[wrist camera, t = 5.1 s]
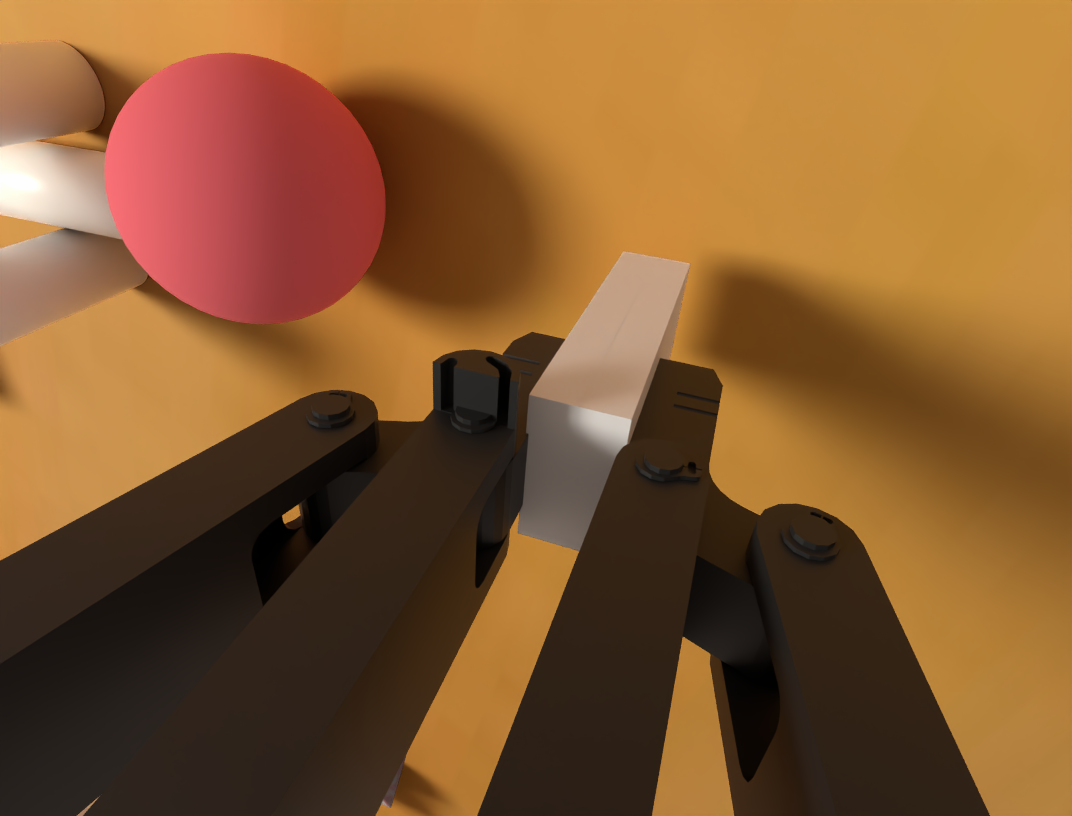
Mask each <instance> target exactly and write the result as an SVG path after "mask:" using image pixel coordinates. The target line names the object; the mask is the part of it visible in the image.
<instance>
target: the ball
mask: <svg viewBox="0 0 1072 816" xmlns="http://www.w3.org/2000/svg"><path fill="white" fill-rule="evenodd" d="M104 172H105V189H106V194H107V199H108V203H109V208H110V211H111V214H112V217H113V219H114V222H115V225H116V228H117V229H118V231H119V233H120V235H121V237H122V239H123V241H124V243H125V245H126V246H127V248H128V249H129V251H130V252H131V254H132V255H133V256H134V258H135V259H136V261H137V262H138V263H139V264H140V265H141V267H142V268H143V269H144V270H145V271H146V272H147V273H148V274H149V276H150V277H152V278H153V279H154V280H155V281H156V282H157V283H158V284H160V285H161V286H162V287H163V288H164V289H165V290H167V291H168V292H170V293H171V294H172V295H174V296H175V297H177V298H178V299H180V300H181V301H183V302H185V303H187V304H189V305H191V306H193V307H194V308H196V309H198V310H201V311H203V312H206V313H208V314H211V315H213V316H216V317H220V318H223V319H227V320H231V321H235V322H243V323H250V324H275V323H284V322H289V321H294V320H298V319H302V318H305V317H307V316H310V315H312V314H315V313H317V312H320V311H322V310H324V309H325V308H327V307H329V306H331V305H333V304H334V303H336V302H337V301H338V300H340V299H341V298H342V297H343V296H345V295H346V294H347V293H348V292H349V291H350V290H351V289H352V288H353V287H354V286H355V285H356V284H357V283H358V282H359V281H360V279H361V278H362V277H363V275H364V274H365V272H366V271H367V270H368V268H369V266H370V265H371V263H372V261H373V259H374V257H375V255H376V252H377V250H378V248H379V245H380V241H381V237H382V233H383V229H384V223H385V213H386V202H385V187H384V182H383V177H382V173H381V169H380V165H379V162H378V160H377V157H376V155H375V152H374V150H373V147H372V145H371V143H370V141H369V139H368V138H367V136H366V134H365V132H364V130H363V129H362V127H361V126H360V124H359V123H358V122H357V120H356V119H355V117H354V116H353V115H352V113H351V112H350V111H349V110H348V109H347V108H346V107H345V106H344V105H343V104H342V102H341V101H340V100H339V99H338V98H336V97H335V96H334V95H333V94H332V93H331V92H329V91H328V90H327V89H326V88H325V87H323V86H322V85H321V84H320V83H318V82H317V81H315V80H313V79H312V78H310V77H309V76H307V75H306V74H304V73H302V72H300V71H298V70H296V69H294V68H292V67H290V66H288V65H286V64H283V63H280V62H277V61H274V60H271V59H268V58H264V57H259V56H254V55H249V54H237V53H219V54H207V55H202V56H197V57H193V58H188V59H186V60H183V61H180V62H178V63H175V64H172V65H170V66H168V67H167V68H165V69H163V70H161V71H160V72H158V73H156V74H154V75H153V76H152V77H151V78H149V79H148V80H147V81H146V82H144V83H143V84H142V85H141V86H140V87H139V88H138V89H137V90H136V91H135V92H134V93H133V94H132V96H131V97H130V98H129V99H128V100H127V102H126V103H125V105H124V106H123V108H122V110H121V111H120V113H119V114H118V116H117V118H116V121H115V123H114V126H113V128H112V130H111V133H110V136H109V140H108V145H107V149H106V154H105V169H104Z"/></svg>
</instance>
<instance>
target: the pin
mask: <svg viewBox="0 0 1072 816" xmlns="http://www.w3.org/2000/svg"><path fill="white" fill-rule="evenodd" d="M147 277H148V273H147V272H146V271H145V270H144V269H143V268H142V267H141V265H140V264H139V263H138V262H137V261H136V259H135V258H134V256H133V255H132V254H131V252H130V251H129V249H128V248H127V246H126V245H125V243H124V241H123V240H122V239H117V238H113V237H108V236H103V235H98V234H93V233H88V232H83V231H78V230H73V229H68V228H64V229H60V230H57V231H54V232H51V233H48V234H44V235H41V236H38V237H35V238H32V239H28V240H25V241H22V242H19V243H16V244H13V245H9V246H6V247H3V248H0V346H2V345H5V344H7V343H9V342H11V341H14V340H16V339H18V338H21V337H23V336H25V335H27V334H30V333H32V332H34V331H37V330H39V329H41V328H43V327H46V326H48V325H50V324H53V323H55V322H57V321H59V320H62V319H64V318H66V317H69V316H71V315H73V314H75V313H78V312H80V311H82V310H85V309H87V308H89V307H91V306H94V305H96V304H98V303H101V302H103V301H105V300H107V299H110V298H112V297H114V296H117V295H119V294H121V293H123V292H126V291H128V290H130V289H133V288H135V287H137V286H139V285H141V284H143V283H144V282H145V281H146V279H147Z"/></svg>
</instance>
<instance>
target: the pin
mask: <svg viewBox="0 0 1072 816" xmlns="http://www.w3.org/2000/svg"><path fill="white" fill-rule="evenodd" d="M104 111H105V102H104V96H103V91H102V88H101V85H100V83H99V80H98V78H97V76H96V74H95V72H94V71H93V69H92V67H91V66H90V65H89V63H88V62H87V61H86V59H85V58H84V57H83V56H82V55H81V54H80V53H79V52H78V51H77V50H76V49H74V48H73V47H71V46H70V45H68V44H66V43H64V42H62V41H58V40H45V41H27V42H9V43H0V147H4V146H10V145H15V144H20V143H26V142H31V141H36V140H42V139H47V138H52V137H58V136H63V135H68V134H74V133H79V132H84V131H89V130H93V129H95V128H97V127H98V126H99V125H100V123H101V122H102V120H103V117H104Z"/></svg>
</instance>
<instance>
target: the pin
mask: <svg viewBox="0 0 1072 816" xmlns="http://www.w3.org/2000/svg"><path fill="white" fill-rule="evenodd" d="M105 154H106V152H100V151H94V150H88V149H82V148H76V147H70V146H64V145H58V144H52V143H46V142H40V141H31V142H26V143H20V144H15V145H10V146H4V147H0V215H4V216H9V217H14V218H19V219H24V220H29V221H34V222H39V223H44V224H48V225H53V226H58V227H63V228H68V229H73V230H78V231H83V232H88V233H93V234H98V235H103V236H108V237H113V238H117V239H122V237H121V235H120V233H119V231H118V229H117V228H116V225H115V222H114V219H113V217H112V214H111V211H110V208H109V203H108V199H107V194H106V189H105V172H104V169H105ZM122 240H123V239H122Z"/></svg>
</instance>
